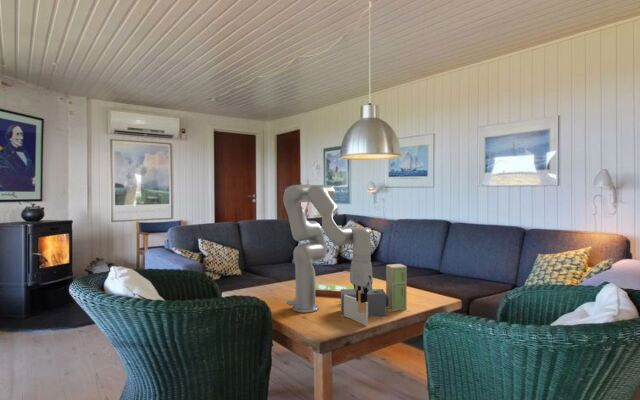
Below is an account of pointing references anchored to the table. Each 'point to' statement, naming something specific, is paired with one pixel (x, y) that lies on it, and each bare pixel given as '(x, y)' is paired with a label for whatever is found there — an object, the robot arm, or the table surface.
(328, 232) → the robot arm
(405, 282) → the toy refrigerator
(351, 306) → the side door
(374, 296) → the grey toy microwave
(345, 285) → the table surface
